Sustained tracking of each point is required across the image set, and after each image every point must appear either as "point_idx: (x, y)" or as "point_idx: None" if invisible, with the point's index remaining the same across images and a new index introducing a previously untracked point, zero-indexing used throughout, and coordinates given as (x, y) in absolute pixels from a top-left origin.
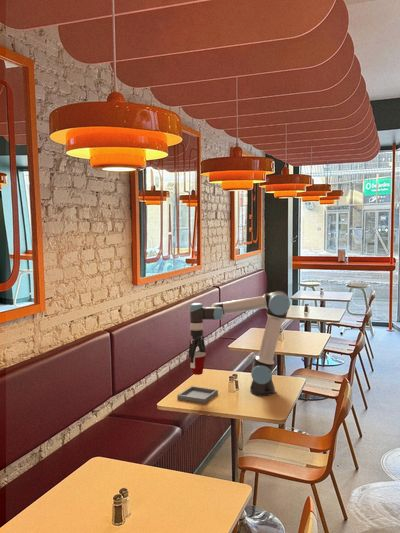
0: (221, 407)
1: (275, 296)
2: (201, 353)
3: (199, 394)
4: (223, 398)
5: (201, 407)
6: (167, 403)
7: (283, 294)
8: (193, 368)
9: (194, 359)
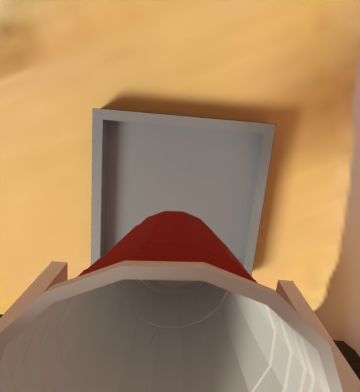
0: (291, 7)
1: None
2: (7, 383)
3: (158, 197)
4: (149, 51)
5: (318, 120)
6: (307, 294)
7: None
8: (230, 301)
9: (343, 363)
